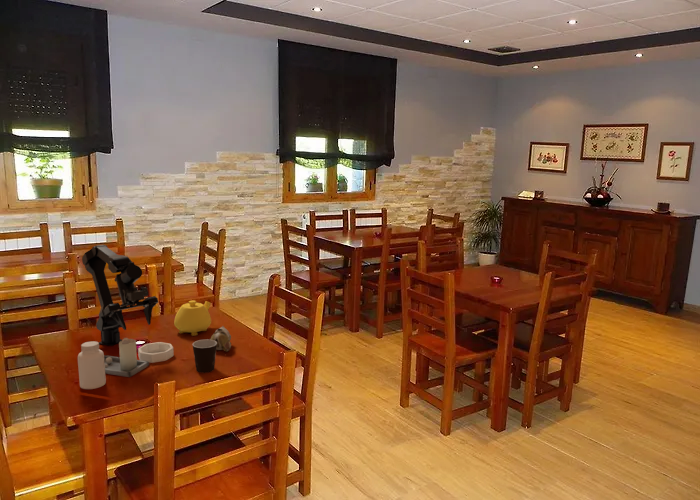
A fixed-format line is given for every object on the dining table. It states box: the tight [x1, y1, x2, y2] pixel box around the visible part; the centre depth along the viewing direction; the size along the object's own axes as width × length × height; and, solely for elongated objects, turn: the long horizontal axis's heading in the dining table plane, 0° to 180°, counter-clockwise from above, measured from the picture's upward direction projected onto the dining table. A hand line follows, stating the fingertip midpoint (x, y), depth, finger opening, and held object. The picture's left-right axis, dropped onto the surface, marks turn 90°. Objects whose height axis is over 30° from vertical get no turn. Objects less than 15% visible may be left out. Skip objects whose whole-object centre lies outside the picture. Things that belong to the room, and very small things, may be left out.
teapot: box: [173, 299, 212, 337], centre depth 238 cm, size 20×16×14 cm
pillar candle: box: [118, 337, 138, 372], centre depth 192 cm, size 6×6×12 cm
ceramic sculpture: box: [209, 325, 232, 352], centre depth 217 cm, size 11×9×15 cm
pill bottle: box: [77, 340, 107, 390], centre depth 180 cm, size 8×8×15 cm
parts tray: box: [104, 354, 150, 378], centre depth 194 cm, size 19×11×3 cm, turn 75°
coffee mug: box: [191, 338, 217, 374], centre depth 198 cm, size 12×9×10 cm
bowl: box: [137, 341, 175, 364], centre depth 206 cm, size 12×12×4 cm
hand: (137, 327), depth 201 cm, fingers open, 9 cm apart
